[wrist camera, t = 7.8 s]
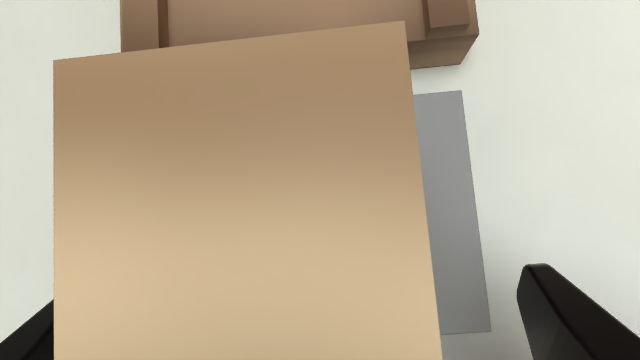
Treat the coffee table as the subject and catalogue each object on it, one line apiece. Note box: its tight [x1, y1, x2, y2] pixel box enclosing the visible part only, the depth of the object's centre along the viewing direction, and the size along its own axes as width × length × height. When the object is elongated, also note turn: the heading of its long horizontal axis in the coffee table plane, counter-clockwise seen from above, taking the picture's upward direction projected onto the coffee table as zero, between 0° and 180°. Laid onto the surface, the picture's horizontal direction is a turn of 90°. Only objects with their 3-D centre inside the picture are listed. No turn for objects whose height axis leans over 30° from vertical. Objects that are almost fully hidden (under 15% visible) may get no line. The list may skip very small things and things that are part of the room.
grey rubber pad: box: [413, 90, 492, 335], centre depth 15 cm, size 8×11×2 cm
